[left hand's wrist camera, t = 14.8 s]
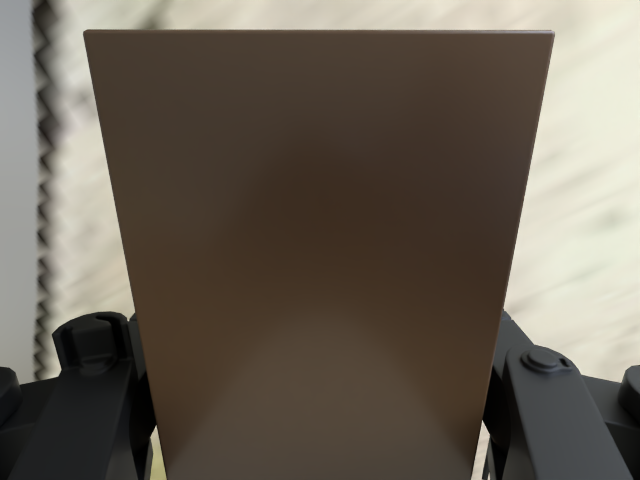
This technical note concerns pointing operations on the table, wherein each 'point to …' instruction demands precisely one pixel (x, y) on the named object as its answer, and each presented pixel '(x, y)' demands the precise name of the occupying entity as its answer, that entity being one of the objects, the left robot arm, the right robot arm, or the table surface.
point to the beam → (318, 238)
